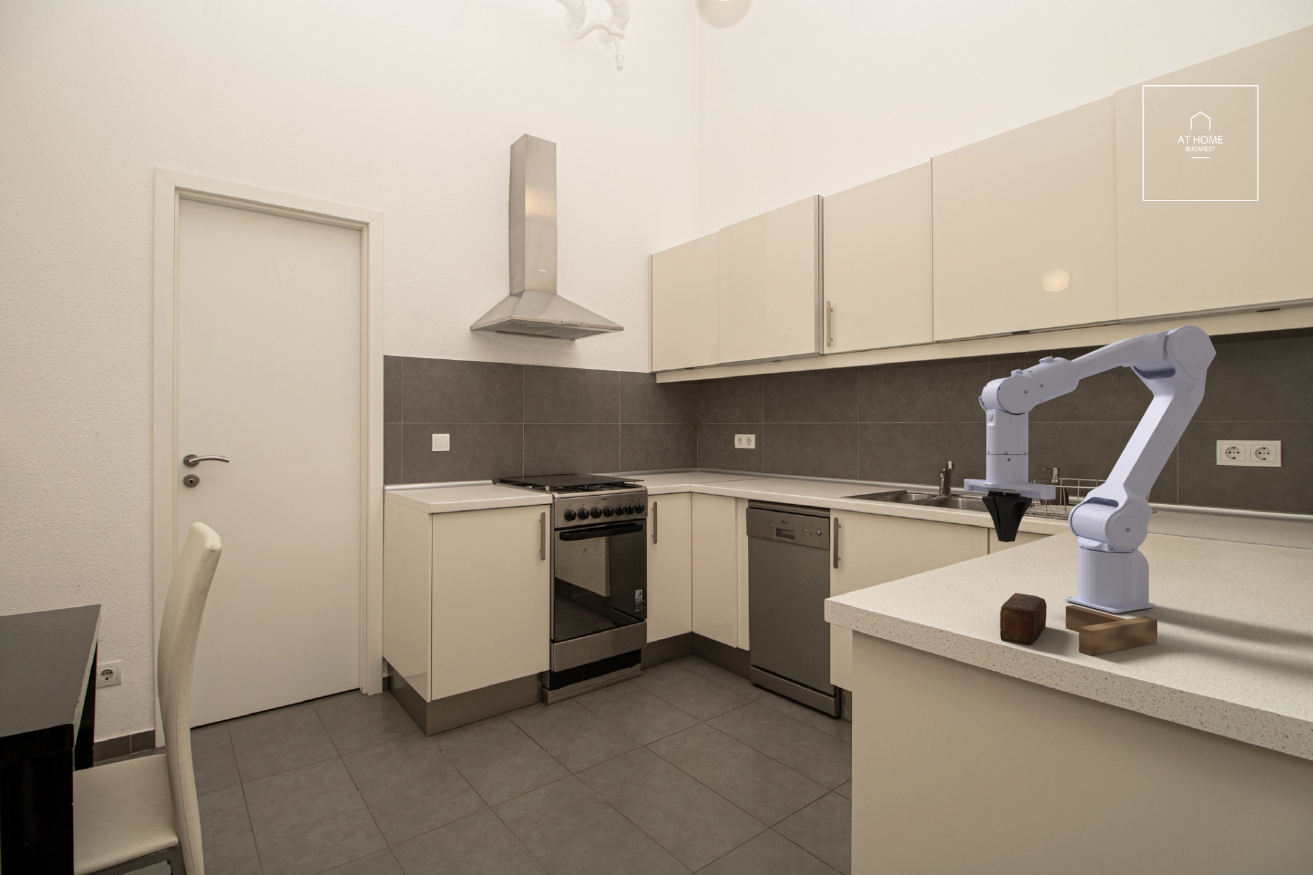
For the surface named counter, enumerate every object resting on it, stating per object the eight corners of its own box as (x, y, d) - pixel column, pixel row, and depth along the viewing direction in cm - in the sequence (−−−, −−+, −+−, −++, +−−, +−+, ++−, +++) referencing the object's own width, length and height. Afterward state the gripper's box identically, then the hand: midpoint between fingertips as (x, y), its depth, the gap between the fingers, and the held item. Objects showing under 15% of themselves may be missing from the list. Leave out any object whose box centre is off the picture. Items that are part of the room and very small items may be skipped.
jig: (1090, 623, 88) (1090, 602, 88) (1157, 642, 80) (1157, 619, 80) (1026, 634, 83) (1026, 611, 83) (1091, 655, 75) (1091, 631, 75)
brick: (1034, 648, 79) (1034, 611, 79) (999, 641, 81) (999, 605, 81) (1047, 627, 87) (1047, 594, 87) (1014, 622, 89) (1015, 589, 89)
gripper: (950, 453, 103) (949, 535, 103) (1031, 456, 89) (1031, 551, 89) (982, 452, 105) (981, 532, 106) (1065, 455, 92) (1065, 547, 92)
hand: (1006, 541), depth 98 cm, fingers closed
